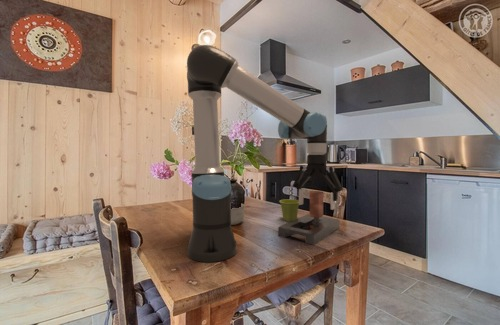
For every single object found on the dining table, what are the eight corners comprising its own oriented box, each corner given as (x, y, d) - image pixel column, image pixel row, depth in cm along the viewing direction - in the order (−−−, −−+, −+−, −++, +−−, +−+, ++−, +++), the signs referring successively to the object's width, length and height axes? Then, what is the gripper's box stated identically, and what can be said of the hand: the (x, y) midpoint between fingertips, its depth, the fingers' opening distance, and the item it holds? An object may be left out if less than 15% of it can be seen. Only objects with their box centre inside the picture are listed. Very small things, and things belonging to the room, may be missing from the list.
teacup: (240, 227, 101) (240, 208, 100) (215, 225, 103) (215, 207, 102) (247, 218, 114) (247, 201, 114) (225, 217, 116) (225, 200, 116)
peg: (306, 228, 98) (306, 191, 98) (312, 225, 103) (313, 190, 102) (320, 231, 95) (320, 193, 94) (325, 228, 99) (325, 191, 98)
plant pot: (278, 222, 108) (278, 202, 108) (280, 216, 117) (280, 198, 117) (299, 223, 106) (299, 203, 106) (300, 217, 115) (300, 199, 115)
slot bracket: (278, 236, 90) (278, 226, 90) (307, 221, 108) (307, 214, 108) (313, 244, 81) (313, 234, 81) (339, 227, 99) (339, 219, 99)
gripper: (351, 154, 93) (351, 209, 93) (293, 154, 108) (293, 201, 109) (345, 154, 87) (344, 213, 87) (285, 154, 103) (284, 204, 103)
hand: (316, 206), depth 98 cm, fingers open, 13 cm apart
